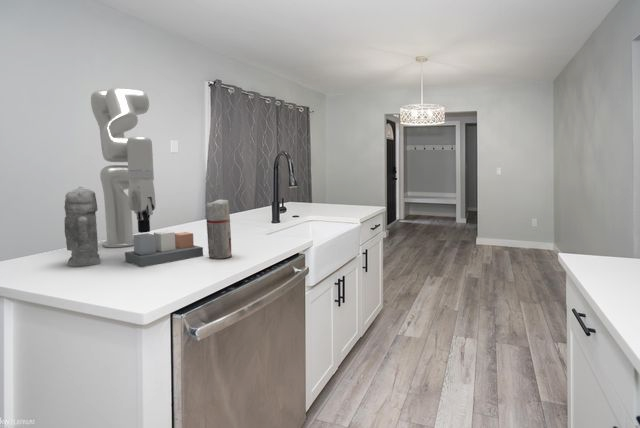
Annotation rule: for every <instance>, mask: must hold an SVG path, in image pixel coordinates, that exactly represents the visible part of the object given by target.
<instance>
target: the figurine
mask: <svg viewBox="0 0 640 428" xmlns="http://www.w3.org/2000/svg"><path fill="white" fill-rule="evenodd" d="M97 203H98V202H97V197H96V192H95V191H93V190H91V189H89V188H88V189H87V188H84V186H79V187H78V188H75V189H72V190H70V191H68V192H67V193H66V194H65V200H64V207H63V208H64V212H65V217H64V236H65V239H66V241H65V242H66V250H67V251H69V252H71V254H70V255H71V256H70V257H69V258H68V261H67V266H68V267H85V266H94V265H99V264H101V257H100V254H99V253H98V252H99V247H98V243H99V242H98V229H97V226H98V225H97V224H98V223H97V216H96V214H97V213H96V212H97V211H98V204H97Z"/></svg>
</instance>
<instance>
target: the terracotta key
mask: <svg viewBox="0 0 640 428" xmlns="http://www.w3.org/2000/svg"><path fill="white" fill-rule="evenodd" d="M190 247H194V233H193V232H188V231H182V232H176V233H175V248H178V249H184V248H190Z"/></svg>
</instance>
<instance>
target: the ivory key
mask: <svg viewBox="0 0 640 428" xmlns="http://www.w3.org/2000/svg"><path fill="white" fill-rule="evenodd" d="M153 235H155V243H156V250H157V251H160V252H164V251H170V250H175V231H170V230H164V231H163V230H162V231H156V232H153Z"/></svg>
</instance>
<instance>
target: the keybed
mask: <svg viewBox="0 0 640 428" xmlns="http://www.w3.org/2000/svg"><path fill="white" fill-rule="evenodd" d="M203 256H204V247H203V246H199V245H196V244H195V245H194V247H190V248H184V249H178V248H175V250H170V251H164V252H160V251H157V250H156V253H152V254H146V255H139V254H136V253H134V250H132V251H131V250H130V251H125V252H124V261H125V262H127V263H131V264H132V265H135V266H138V267H141V268H144V267H150V266H154V265H155V266H156V265H160V264H161V265H162V264H165V263H166V264H167V263H171V262H176V261H181V260H187V259H193V258H197V257H198V258H199V257H203Z"/></svg>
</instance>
